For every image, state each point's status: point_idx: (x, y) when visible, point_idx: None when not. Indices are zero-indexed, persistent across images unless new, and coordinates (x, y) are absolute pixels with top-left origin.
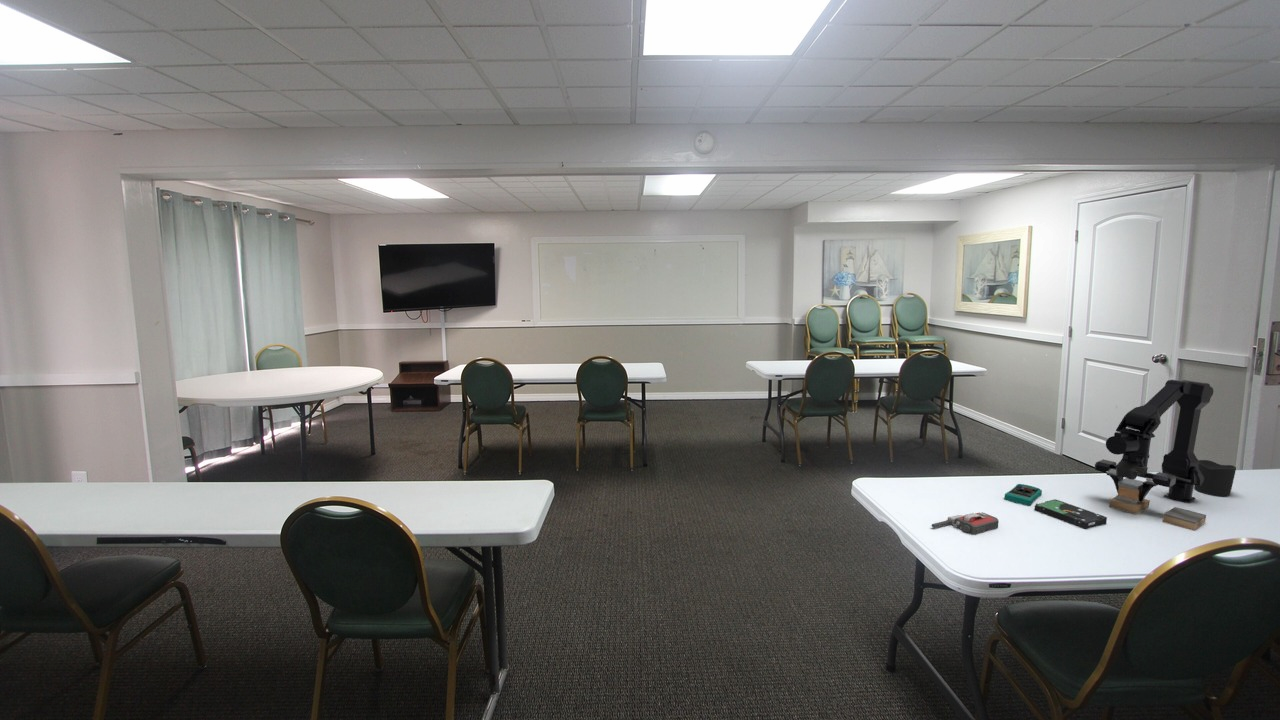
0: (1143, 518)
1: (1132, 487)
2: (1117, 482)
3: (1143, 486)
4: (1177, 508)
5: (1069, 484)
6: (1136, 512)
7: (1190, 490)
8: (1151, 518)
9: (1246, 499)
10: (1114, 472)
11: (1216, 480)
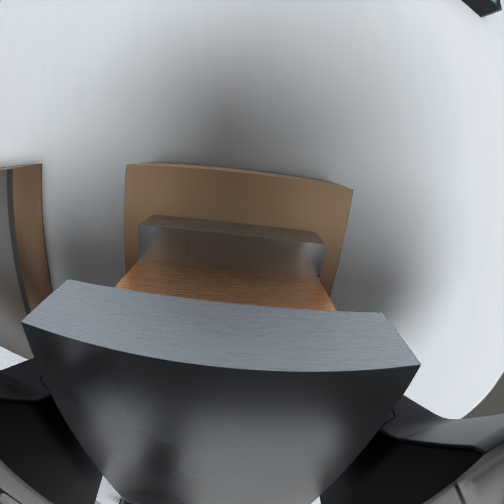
0: (111, 118)
1: (129, 308)
2: None
3: (35, 395)
4: (29, 347)
5: (459, 380)
6: (152, 163)
7: (122, 498)
8: (82, 167)
9: (101, 494)
10: (496, 497)
11: None
